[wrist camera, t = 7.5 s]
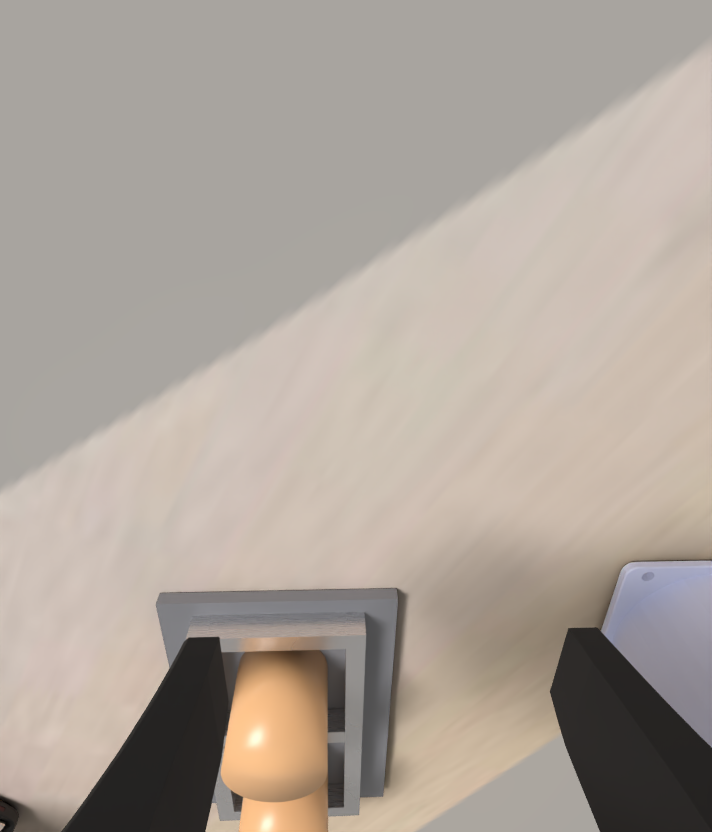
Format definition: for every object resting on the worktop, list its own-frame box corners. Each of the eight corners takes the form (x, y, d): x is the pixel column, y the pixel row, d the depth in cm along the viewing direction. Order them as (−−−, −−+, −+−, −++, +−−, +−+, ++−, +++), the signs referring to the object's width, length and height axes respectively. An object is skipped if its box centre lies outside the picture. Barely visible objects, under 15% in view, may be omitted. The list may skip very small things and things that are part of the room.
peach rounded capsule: (329, 637, 23) (329, 741, 20) (326, 696, 25) (325, 801, 21) (236, 637, 23) (217, 742, 19) (240, 696, 25) (223, 803, 21)
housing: (396, 588, 23) (412, 699, 19) (382, 784, 30) (391, 899, 26) (159, 593, 23) (117, 708, 18) (201, 791, 30) (178, 909, 25)
